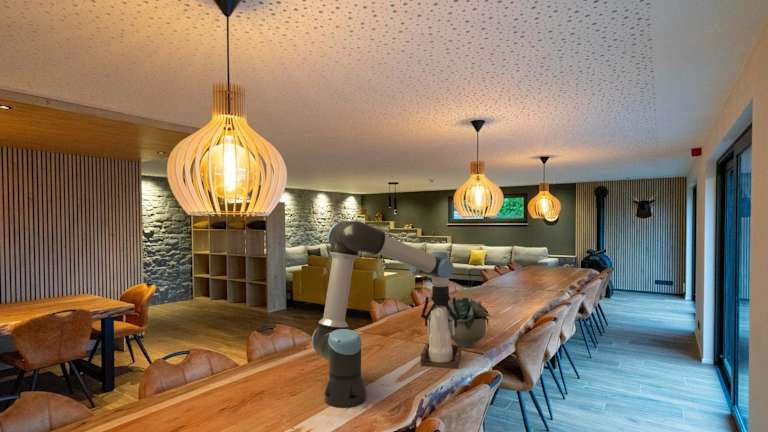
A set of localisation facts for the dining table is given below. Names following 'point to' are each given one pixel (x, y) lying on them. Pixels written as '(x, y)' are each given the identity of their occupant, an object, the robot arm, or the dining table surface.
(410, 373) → the dining table surface
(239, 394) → the dining table surface
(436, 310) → the decorative vase
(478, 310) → the flower arrangement
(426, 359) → the brown wooden tray
